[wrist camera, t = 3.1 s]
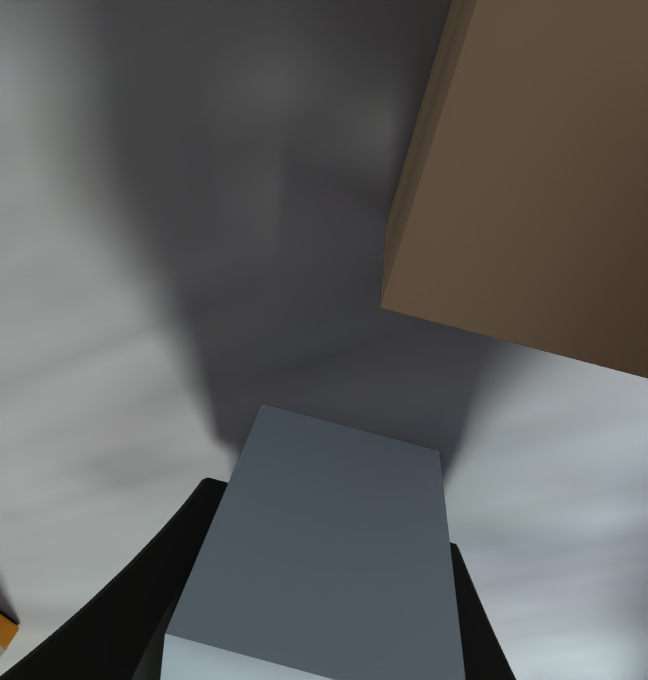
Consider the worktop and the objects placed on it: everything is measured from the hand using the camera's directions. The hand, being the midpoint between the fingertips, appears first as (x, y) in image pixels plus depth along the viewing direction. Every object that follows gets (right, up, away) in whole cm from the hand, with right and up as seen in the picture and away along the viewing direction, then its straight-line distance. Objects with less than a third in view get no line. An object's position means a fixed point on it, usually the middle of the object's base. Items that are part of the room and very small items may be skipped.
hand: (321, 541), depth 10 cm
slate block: (0, +1, +1) cm, 2 cm away
